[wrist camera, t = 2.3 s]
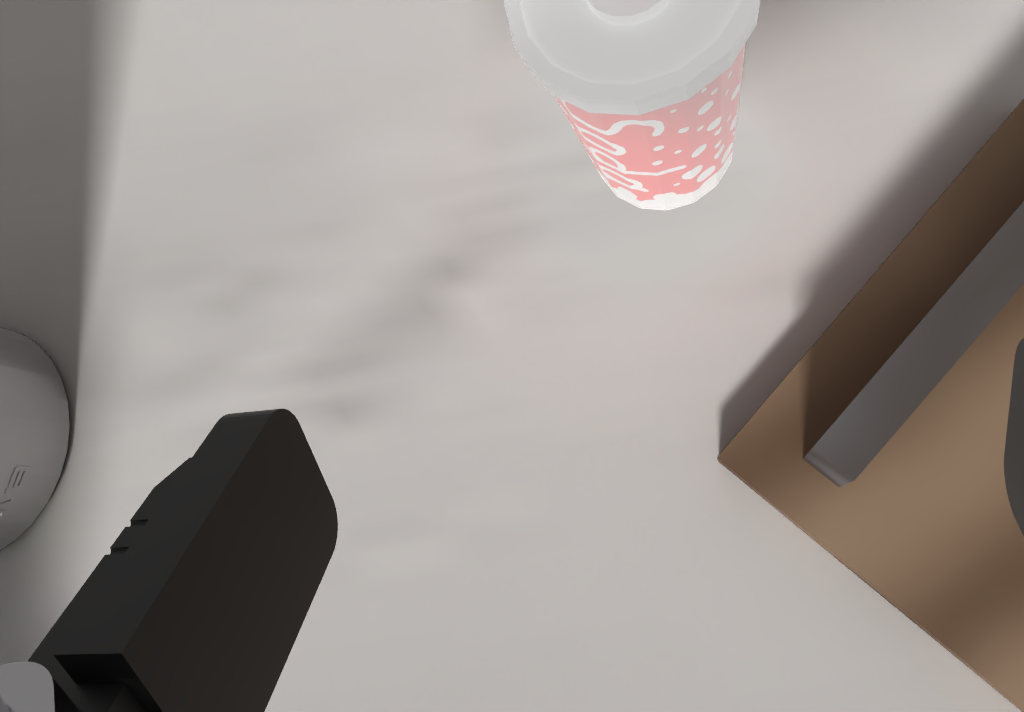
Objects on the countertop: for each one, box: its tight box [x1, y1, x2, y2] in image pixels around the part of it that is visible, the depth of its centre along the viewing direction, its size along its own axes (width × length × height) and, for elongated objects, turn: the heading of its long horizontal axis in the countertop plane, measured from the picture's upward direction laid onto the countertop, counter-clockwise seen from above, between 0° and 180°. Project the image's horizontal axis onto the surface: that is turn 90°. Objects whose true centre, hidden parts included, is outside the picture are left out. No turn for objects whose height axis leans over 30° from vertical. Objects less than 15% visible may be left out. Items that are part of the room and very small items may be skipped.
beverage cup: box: [504, 0, 760, 210], centre depth 22 cm, size 6×6×14 cm
